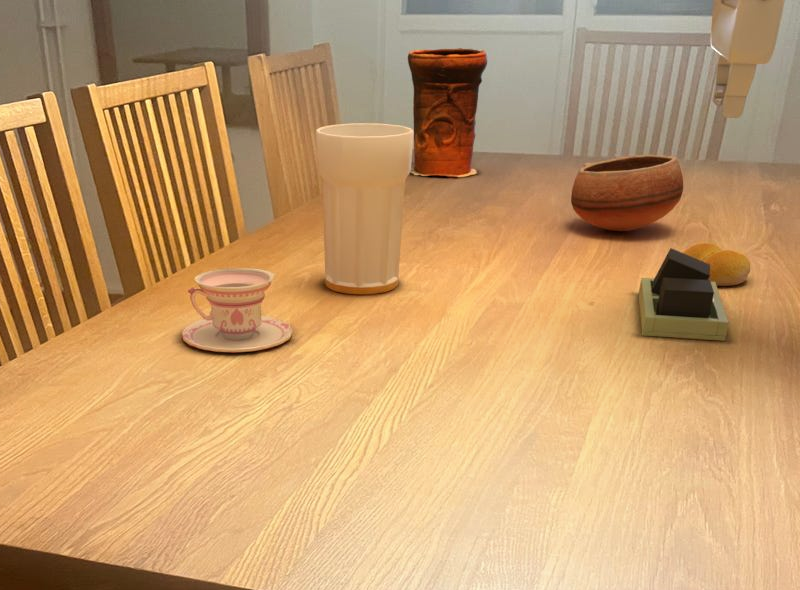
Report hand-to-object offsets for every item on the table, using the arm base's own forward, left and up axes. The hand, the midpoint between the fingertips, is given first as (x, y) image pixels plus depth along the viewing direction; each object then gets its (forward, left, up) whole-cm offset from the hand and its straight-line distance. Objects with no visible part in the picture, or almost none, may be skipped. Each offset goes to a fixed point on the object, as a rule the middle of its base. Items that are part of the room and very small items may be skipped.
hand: (725, 110), depth 94 cm
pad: (+1, -8, -20) cm, 21 cm away
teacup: (+47, +14, -21) cm, 54 cm away
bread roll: (-5, -21, -21) cm, 31 cm away
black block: (0, 0, -21) cm, 21 cm away
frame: (0, -4, -21) cm, 21 cm away
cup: (+38, -9, -21) cm, 44 cm away
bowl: (+6, -47, -21) cm, 52 cm away
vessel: (+39, -89, -21) cm, 99 cm away
